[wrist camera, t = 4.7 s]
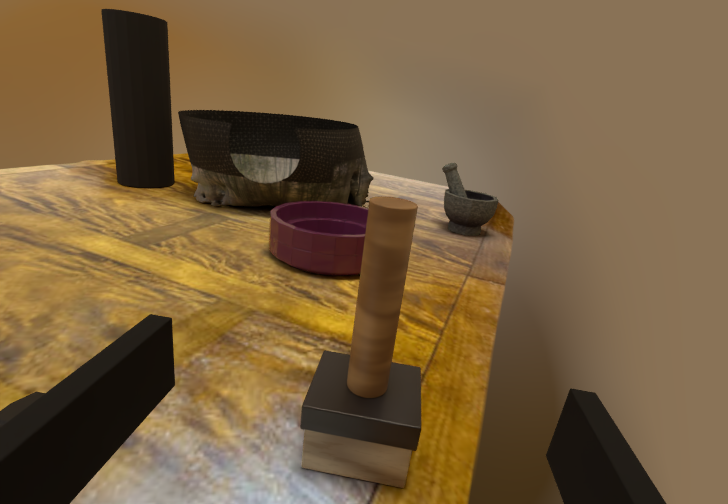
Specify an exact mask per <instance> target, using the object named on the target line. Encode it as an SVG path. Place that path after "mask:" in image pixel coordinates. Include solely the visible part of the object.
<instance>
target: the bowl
mask: <svg viewBox="0 0 728 504" xmlns="http://www.w3.org/2000/svg"><path fill="white" fill-rule="evenodd" d="M367 217H368V208H365V207H361V206H356V205H351V204H344V203H337V202H325V201H300V202H292V203H285V204H282V205H279V206H276V207H275V208H273V209H272V210H271V211H270V229H269V249H270V252H271V253H272V254H273V255H274V256H275V257H276V258H277V259H279V260H281V261H283V262H285V263H287V264H288V265H290V266H292V267H295V268H297V269H300V270H304V271H307V272H311V273H317V274H324V275H336V276H345V275H357V274H360V273H361V265H362V257H363V249H364V241H365V233H366V225H367Z"/></svg>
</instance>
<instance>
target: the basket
mask: <svg viewBox="0 0 728 504" xmlns="http://www.w3.org/2000/svg"><path fill="white" fill-rule="evenodd" d="M178 114H179V119H180V124H181V127H182V132H183V135H184V140H185V144H186V148H187V152H188V155H189V159H190V162H191V165H192V169H193V174H192V177H191V180H193V181H194V182H198V188H197V189H196V192H195V194H194V197H196V200H197V201H199V202H202V203H205V202H211V203H212V204H211V205H213V206H220V205H233V206H253V207H257V206H262V205H276V206H279V205H282V204H285V203H292V202H300V201H325V202H337V203H344V204H351V205H356V206H361V207H362V205H363V204H365V203H366V202H367V203H368V202H369V201H366V199H365V198H366V197H368V193H369V192H368V188H369V185H370V182H371V181H372V180H373V177H372V176H371V175H370V174H369V172H368V169H367V165H366V160H365V156H364V151H363V145H362V140H361V136H360V132H359V128H358V126H357V125H354V124H350V123H346V122H341V121H334V120H327V119H320V118H312V117H303V116H293V115H283V114H281V115H280V114H271V113H270V114H269V113H256V112H240V111H219V110H218V111H216V110H213V111H212V110H193V111H192V110H190V111H189V110H188V111H179V112H178ZM219 202H221V203H219Z"/></svg>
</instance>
